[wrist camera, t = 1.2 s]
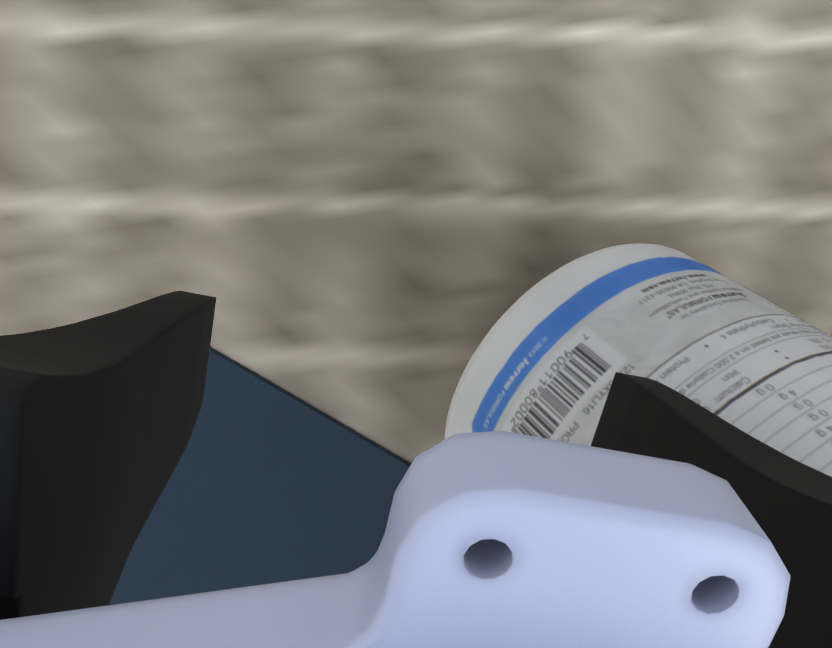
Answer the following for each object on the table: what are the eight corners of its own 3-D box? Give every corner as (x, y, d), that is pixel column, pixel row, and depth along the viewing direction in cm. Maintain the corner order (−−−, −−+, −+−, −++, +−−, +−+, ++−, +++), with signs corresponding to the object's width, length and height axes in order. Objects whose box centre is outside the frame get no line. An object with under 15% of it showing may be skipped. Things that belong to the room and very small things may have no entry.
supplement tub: (663, 441, 27) (1153, 856, 17) (428, 553, 24) (870, 1177, 13) (722, 187, 22) (1516, 576, 11) (426, 282, 18) (1201, 999, 7)
